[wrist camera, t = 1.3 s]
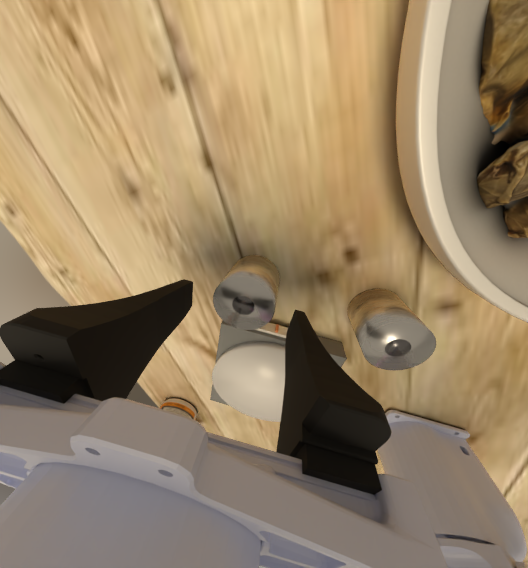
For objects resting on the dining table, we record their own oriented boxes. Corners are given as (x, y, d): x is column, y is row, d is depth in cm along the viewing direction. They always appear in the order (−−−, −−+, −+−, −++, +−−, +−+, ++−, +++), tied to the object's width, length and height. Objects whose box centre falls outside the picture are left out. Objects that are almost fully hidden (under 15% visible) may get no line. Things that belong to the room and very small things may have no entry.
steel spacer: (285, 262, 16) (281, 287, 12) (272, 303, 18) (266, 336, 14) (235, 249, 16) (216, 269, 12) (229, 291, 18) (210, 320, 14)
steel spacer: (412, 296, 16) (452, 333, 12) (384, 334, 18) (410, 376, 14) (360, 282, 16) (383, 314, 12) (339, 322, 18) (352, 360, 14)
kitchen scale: (343, 339, 19) (351, 362, 16) (301, 409, 25) (302, 433, 23) (228, 307, 19) (218, 325, 16) (216, 385, 25) (207, 406, 23)
